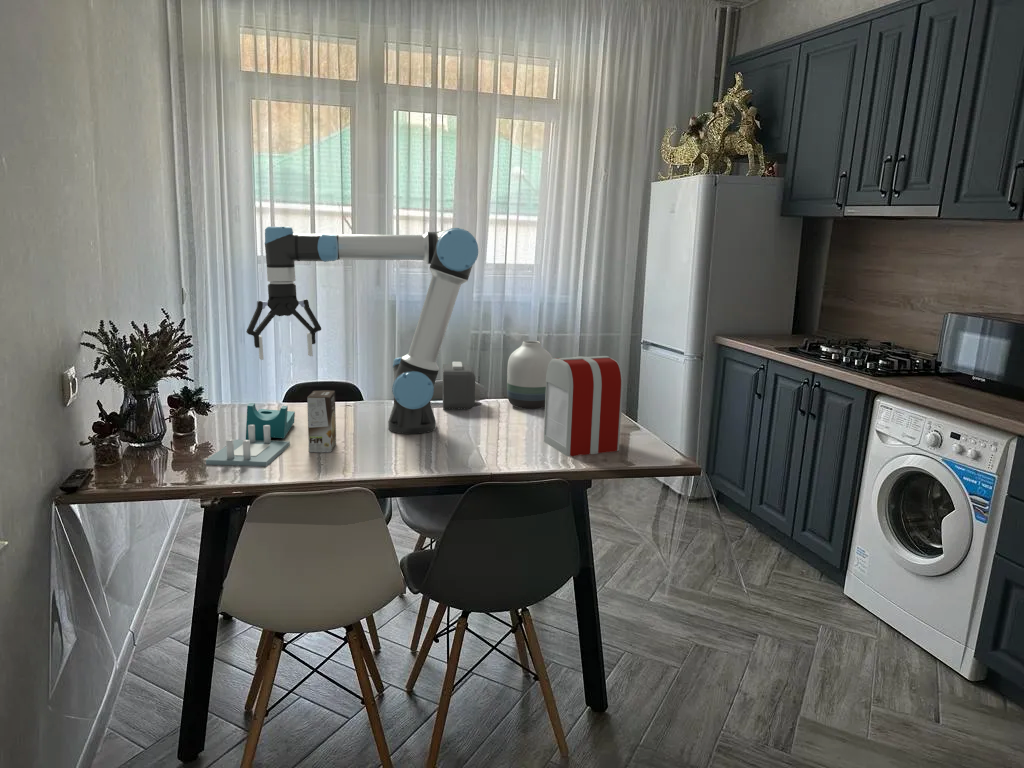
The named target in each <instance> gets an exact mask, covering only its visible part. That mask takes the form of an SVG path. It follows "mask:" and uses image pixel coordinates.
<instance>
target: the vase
mask: <svg viewBox="0 0 1024 768" xmlns="http://www.w3.org/2000/svg"><path fill="white" fill-rule="evenodd" d="M552 359H554V358H553V356H552V354H551V353H550V352H549V351H548V350H547V349H545V348H544V347H543V346H542V344H541V342H540V341H538V340H524V341H522V343H521V345H520V346H519V347H518V348H516V349H515V350H514V351H512V353H510V355H509V357H508V360H507V369H506V370H507V371H506V372H507V374H506V380H507V381H506V394H507V395H506V396H507V400H508V402H509V404H510V405H512V406H513V407H515V408H518V409H524V410H541V409H543V408H544V409H545V395H546V374H547V369H548V365H549V363H550V361H551V360H552Z"/></svg>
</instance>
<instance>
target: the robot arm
mask: <svg viewBox="0 0 1024 768" xmlns="http://www.w3.org/2000/svg"><path fill="white" fill-rule="evenodd" d="M264 249H265V260H266V276H267V282H269V283H268V285H267V292H268V300H267V301H264V300H260V299H259V300H257V301H256V309H255V311H254V313H253V316H252V318H251V320H250V323H249V324H248V327H247V329H246V334H247V335H250V336H252V337H253V343H254V347H255V348H257V349H258V356H259V357H258V358H259V360H261V361H262V360H263V361H264V360H265V359H264V348H263V347H264V345H263V336H262V335H261V334H262V333H263V331H264V330H265V328H266V327H267V326H268V325H269V324H270V322H271V321H272V320H273V319H274V318H275V316H277V317H283V316H286V317H290V316H291V315H293V316H294V317H295V318H296V319H297V320H298V321H299V322H300V323H301V324H302V325H303V327H305V328H306V329H307V330H308V331H309V332H307V333H306V339H307V342H306V343H307V354H308V356H309V357H313V356H314V355H313V345H316V342H317V341H316V333H317V332H320V331H322V327H321V324H320V323H319V322H318V320H317V318H316V315H315V314H314V312H313V311H312V309H311V307H310V303H309V300H308V299H306V298H303V299H299V300H298V298H297V286H296V285H297V284H296V283H294V282H296V267H295V262H323V263H328V262H335V261H338V260H340V261H341V260H343V261H344V260H345V261H422V262H423V261H424V262H425V263H426V264H427V265H429V270H430V272H431V275H432V276H431V280H430V283H429V285H428V289H427V291H426V296H425V299H424V301H423V305H422V308H421V311H420V314H419V317H418V322H417V325H416V328H415V330H414V334H413V335H412V336H413V337H412V340H411V344H410V346H409V349H408V353H406V354H405V355H403V356H399V357H395V358H394V359H393V363H392V369H393V371H392V372H393V373H392V374H393V377H392V379H393V380H392V381H393V382H392V386H391V387H392V391H391V393H392V394H393V405H392V409H391V412H390V415H389V418H388V422H387V424H388V425H387V426H388V427H387V429H388V430H389V431H390V432H394V433H397V434H404V435H405V434H406V435H407V434H408V435H416V434H417V435H418V434H426V433H429V432H432V431H434V430H436V429H437V428H436V426H437V421H436V418H435V415H434V412H433V408H432V405H431V400H432V398H433V396H434V393H435V392H434V391H435V388H434V387H435V384H436V380H437V377H438V374H439V371H440V367H439V366H438V363H437V360H438V358H439V354H440V351H441V348H442V345H443V341H444V338H445V335H446V333H447V329H448V326H449V323H450V320H451V316H452V314H453V311H454V308H455V304H456V301H457V297H458V295H459V292H460V288H461V286H462V285H463V284H464V283H466V282H468V280H469V277H470V275H471V271H472V269H473V265H474V264H475V263H476V261H477V259H478V256H479V246H478V241H477V239H476V238H475V236H474V235H473V233H471V232H470V231H468V230H466V229H464V228H460V227H452V228H449V229H445V230H441V231H426V232H425V233H424V234H357V233H356V234H353V233H352V234H345V233H344V234H343V233H341V234H339V233H338V234H336V233H294V230H293V227H291V226H267V227H265V230H264ZM299 305H300V307H301V308H303V309H304V311H305V313H306V315H307V317H308V318H309V320H310V321H311V323H312V325H313V326H314V327H312V326H311V324H310V323H309V322H308V321H307V320H306V319H305V318H304V317H303V316H302V315H301V314H300V312H298V311H297V308H298V307H299ZM266 307H268V308H269V309H270V311H269V312H268V313H267V315H266V316H265V317H264V319H263V320H262V321H261V322H260V324H259V325H258V326H257V327H256V325H257V324H258V321H259V318H260V316H261V315H262V312H263V310H264V309H265V308H266Z"/></svg>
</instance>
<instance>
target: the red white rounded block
mask: <svg viewBox="0 0 1024 768" xmlns="http://www.w3.org/2000/svg"><path fill="white" fill-rule="evenodd" d="M623 388H624V378H623V371H622V368H621V365H620V364H619V362H618V361H617V360H615V359H614V358H612V357H610V356H608V355H598V356H597V355H596V356H581V355H579V356H573V357H557V358H556V357H555V358H553V359H552V360H551V361H550V363H549V365H548V369H547V374H546V395H545V407H544V427H543V442H544V443H545V444H547V445H548V446H550V447H552V448H553V449H554V450H556V451H558V452H560V453H561V454H562V455H564V456H566V457H574V456H575V457H576V456H583V455H595V454H596V455H597V454H602V453H611V452H619V451H620V439H621V438H620V437H621V419H622V405H623V404H622V403H623V392H624V391H623Z"/></svg>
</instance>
